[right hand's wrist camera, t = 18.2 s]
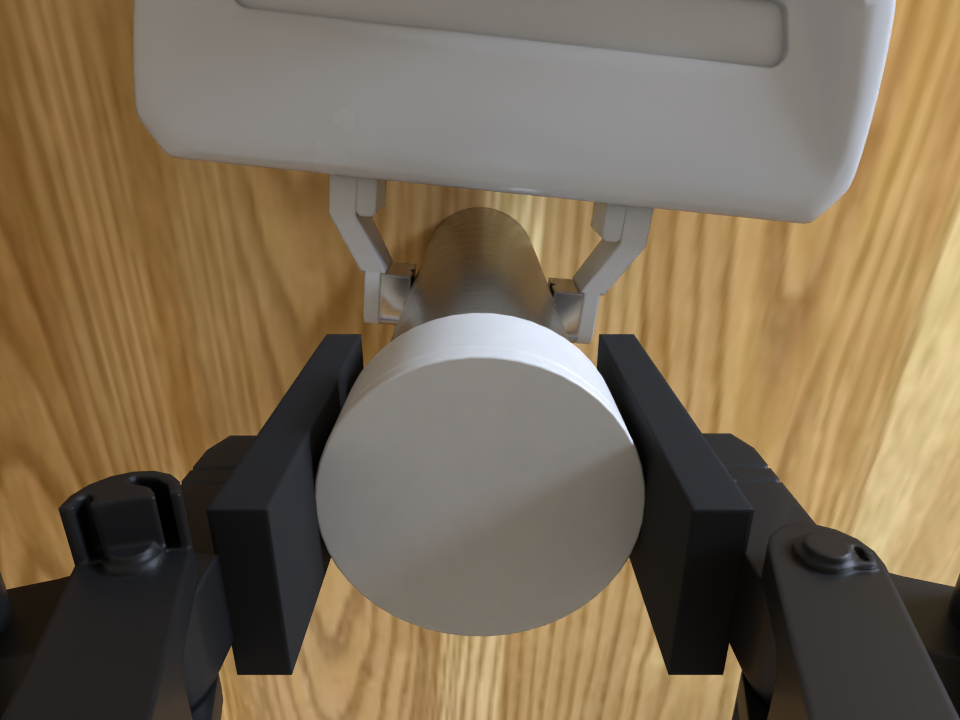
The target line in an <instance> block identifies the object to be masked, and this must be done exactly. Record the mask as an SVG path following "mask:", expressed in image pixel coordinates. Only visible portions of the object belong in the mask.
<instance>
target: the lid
mask: <svg viewBox="0 0 960 720" xmlns="http://www.w3.org/2000/svg"><path fill="white" fill-rule="evenodd" d="M315 500H316V509H317V518H318V525H319V529H320V533H321V536H322V538H323V541H324V543H325V545H326V548H327V550H328V552H329V554H330V555H331V557H332V559H333V561H334V562H335V564H336V566H337V567H338V568H339V570H340V571H341V572H342V574H343V575H344V576H345V577H346V579H347V580H348V581H349V582H350V583H351V584H352V585H353V586H354V587H355V588H356V589H357V590H358V591H359V592H360V593H361V594H362V595H364V596H365V597H366V598H367V599H369V600H370V601H371V602H373V603H374V604H375V605H377V606H378V607H380V608H382V609H383V610H385V611H387V612H388V613H390V614H392V615H393V616H395V617H398V618H400V619H402V620H404V621H406V622H409V623H411V624H414V625H417V626H420V627H423V628H426V629H429V630H434V631H438V632H443V633H447V634H455V635H464V636H495V635H507V634H512V633H517V632H523V631H527V630H531V629H534V628H537V627H540V626H544V625H546V624H549V623H551V622H554V621H556V620H558V619H561V618H563V617H565V616H567V615H568V614H570V613H572V612H574V611H575V610H577V609H579V608H580V607H582V606H583V605H585V604H586V603H587V602H589V601H590V600H592V599H593V598H594V597H596V596H597V595H598V594H599V593H600V592H601V591H602V590H603V589H604V588H605V587H606V586H607V585H609V583H610V582H611V581H612V580H613V579H614V577H615V576H616V575H617V574H618V573H619V572H620V570H621V569H622V567H623V566H624V564H625V562H626V561H627V559H628V558H629V556H630V554H631V552H632V550H633V548H634V546H635V543H636V541H637V539H638V536H639V532H640V529H641V526H642V521H643V512H644V504H645V480H644V474H643V469H642V464H641V461H640V458H639V455H638V452H637V450H636V447H635V444H634V442H633V440H632V438H631V436H630V434H629V432H628V429H627V427H626V425H625V423H624V421H623V419H622V416H621V414H620V412H619V410H618V408H617V406H616V403H615V401H614V399H613V397H612V395H611V393H610V391H609V389H608V387H607V385H606V383H605V381H604V379H603V377H602V376H601V374H600V373H599V372H598V370H597V369H596V367H595V366H594V365H593V363H592V362H591V361H590V360H589V359H588V358H587V357H586V356H585V355H584V354H583V353H582V352H581V351H580V350H579V349H578V348H577V347H575V346H574V345H573V344H572V343H570V342H569V341H568V340H566V339H565V338H564V337H562V336H560V335H558V334H557V333H555V332H553V331H552V330H550V329H548V328H546V327H543V326H541V325H538V324H536V323H534V322H531V321H528V320H524V319H521V318H517V317H513V316H508V315H501V314H494V313H468V314H459V315H452V316H447V317H443V318H439V319H435V320H432V321H429V322H427V323H424V324H422V325H419V326H416V327H414V328H413V329H411V330H409V331H407V332H405V333H403V334H401V335H400V336H398V337H397V338H395V339H394V340H393V341H391V342H390V343H388V344H387V345H386V346H384V347H383V348H382V349H381V350H380V351H379V352H378V353H377V354H376V355H375V356H374V357H373V358H372V359H371V360H370V361H369V363H368V364H367V365H366V366H365V368H364V369H363V370H362V372H361V373H360V375H359V376H358V378H357V380H356V381H355V383H354V385H353V387H352V389H351V391H350V393H349V395H348V397H347V399H346V402H345V404H344V406H343V408H342V410H341V412H340V414H339V417H338V419H337V421H336V423H335V425H334V427H333V429H332V432H331V434H330V436H329V438H328V440H327V442H326V445H325V448H324V450H323V453H322V455H321V458H320V460H319V465H318V470H317V474H316V479H315Z"/></svg>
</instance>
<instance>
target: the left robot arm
mask: <svg viewBox="0 0 960 720" xmlns="http://www.w3.org/2000/svg"><path fill="white" fill-rule="evenodd" d="M895 5H896V0H134V17H133V72H134V95H135V105H136V110H137V114H138V117H139V119H140V121H141V123H142V124H143V125H144V126H145V128H146V129H147V130H148V132H149V133H150V134H151V136H152V137H153V138H154V140H155V141H156V142H157V144H158V145H159V146H160V147H161V149H162V150H163V151H164V152H165V153H166V154H167V155H169V156H171V157H174V158H180V159H189V160H199V161H208V162H218V163H227V164H237V165H246V166H256V167H266V168H275V169H285V170H294V171H304V172H313V173H323V174H330V175H329V214H330V216H331V218H332V220H333V222H334V224H335V225H336V227H337V229H338V231H339V233H340V235H341V236H342V238H343V240H344V242H345V244H346V245H347V247H348V249H349V251H350V253H351V255H352V256H353V258H354V260H355V262H356V264H357V266H358V267H359V269H360V271H363V272H365V274H364V305H363V318H364V322H366V323H372V324H387V325H397V323H398V321H399V318H400V315H401V313H402V310H403V308H404V305H405V303H406V300H407V298H408V295H409V292H410V290H411V287H412V285H413V282H414V280H415V277H416V264H409V263H400V262H392V261H393V260H392V258H391V256H390V254H389V252H388V250H387V248H386V246H385V243H384V241H383V239H382V237H381V235H380V233H379V231H378V229H377V227H376V225H375V223H374V221H373V218H372V216H373V215H374V214H375V213H377V212H378V211H379V210H380V209H381V208H382V207H383V206H384V205H385V198H386V180H390V181H400V182H409V183H419V184H428V185H438V186H447V187H457V188H466V189H476V190H486V191H495V192H505V193H514V194H524V195H533V196H543V197H553V198H562V199H572V200H581V201H591V202H594V208H593V214H592V221H591V226H592V228H593V229H594V230H595V231H596V232H597V233H598V234H599V235H600V236H601V237H602V240H601V241H600V242H599V244H598V245H597V246H596V248H595V249H594V250H593V251H592V253H591V254H590V255H589V257H588V258H587V259H586V261H585V262H584V263H583V265H582V266H581V267H580V269H579V270H578V271H577V272H576V274H575V275H574V276H573V280H572V279H559V278H549V280H548V287H549V289H550V292H551V294H552V297H553V299H554V302H555V305H556V307H557V310H558V312H559V315H560V317H561V320H562V323H563V325H564V328H565V330H566V333H567V335H568V338H569V340H570V343H581V344H589V343H590V342H591V340H592V337H593V332H594V326H595V320H596V315H597V309H598V304H599V298H600V295H605V293H606V292H607V291H608V290H609V289H610V288H611V286H612V285H613V284H614V283H615V282H616V281H617V279H618V278H619V277H620V276H621V275H622V274H623V272H624V271H625V270H626V269H627V268H628V267H629V265H630V264H631V263H632V262H633V261H634V260H635V258H636V257H637V256H638V255H639V254H640V253H641V251H642V250H643V249H644V248H645V247H646V243H647V238H648V233H649V228H650V223H651V218H652V214H653V209H654V208H658V209H667V210H677V211H686V212H696V213H706V214H715V215H725V216H734V217H744V218H753V219H763V220H772V221H782V222H792V223H802V224H805V223H810V222H812V221H814V220H815V219H817V218H818V217H819V216H820V215H822V214H823V213H824V212H825V211H826V210H827V209H829V208H830V207H831V206H832V205H833V204H834V203H835V202H836V201H837V200H838V199H839V198H840V197H842V196H843V195H844V194H845V193H846V191H847V190H848V188H849V187H850V185H851V183H852V180H853V178H854V176H855V173H856V170H857V168H858V165H859V162H860V159H861V156H862V152H863V149H864V145H865V142H866V139H867V135H868V131H869V128H870V124H871V121H872V117H873V113H874V109H875V105H876V101H877V97H878V93H879V89H880V84H881V80H882V75H883V71H884V67H885V62H886V57H887V52H888V47H889V42H890V37H891V31H892V26H893V20H894V14H895Z"/></svg>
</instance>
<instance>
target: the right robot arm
mask: <svg viewBox="0 0 960 720" xmlns="http://www.w3.org/2000/svg"><path fill="white" fill-rule="evenodd" d="M363 369H364V368H363V354H362V341H361V334H327V335H326V336H325V337H324V339H323V340H322V342H321V343H320V345H319V346H318V348H317V349H316V351H315V352H314V353H313V355H312V356H311V358H310V359H309V361H308V362H307V364H306V365H305V367H304V368H303V369H302V371H301V372H300V374H299V375H298V377H297V378H296V380H295V381H294V383H293V384H292V385H291V387H290V388H289V390H288V391H287V393H286V394H285V396H284V397H283V399H282V400H281V401H280V403H279V404H278V406H277V407H276V409H275V410H274V412H273V413H272V415H271V416H270V417H269V419H268V420H267V422H266V423H265V425H264V426H263V428H262V429H261V431H260V432H259V433H258V435H257V436H229V437H227V438H226V439H224V440H222V441H221V442H219V443H218V444H216V445H214V446H213V447H211V448H210V449H208V450H207V451H206V452H205V453H204V454H203V456H202V457H201V458H200V459H199V461H198V462H197V463H196V464H195V465H194V467H193V471H190V472H189V473H188V474H187V475H186V477H185V478H184V479H183V480H182V485H180V481H178V480H177V479H176V478H174V477H173V476H172V475H170V474H166V473H162V472H157V471H139V472H130V473H125V474H120V475H116V476H111V477H108V478H106V479H103V480H100V481H98V482H95V483H93V484H90V485H88V486H86V487H85V488H83V489H81V490H80V491H78V492H76V493H75V494H73V495H71V496H70V497H69V498H68V499H67V500H66V501H65V502H64V503H63V504H62V505H61V507H60V508H59V512H60V515H61V519H62V522H63V526H64V529H65V532H66V536H67V539H68V543H69V546H70V550H71V553H72V556H73V560H74V563H75V567H74V569H73V571H72V573H71V575H70V576H68V577H64V578H61V579H56V580H51V581H46V582H42V583H37V584H32V585H27V586H22V587H17V588H12V589H7V590H6V587H5V584H4V581H3V578H2V576H1V573H0V720H221V713H222V705H223V695H222V688H221V682H220V677H219V671H220V669H221V666H222V664H223V662H224V660H225V658H226V656H227V654H228V651H229V649H230V647H231V645H232V649H233V654H234V660H235V665H236V670H237V675H292V673H293V670H294V667H295V664H296V661H297V658H298V655H299V652H300V649H301V646H302V643H303V640H304V637H305V634H306V631H307V628H308V625H309V622H310V619H311V616H312V613H313V610H314V607H315V604H316V601H317V598H318V595H319V592H320V589H321V586H322V583H323V580H324V577H325V574H326V571H327V568H328V565H329V562H330V559H331V555H330V554H329V552H328V550H327V548H326V545H325V543H324V541H323V538H322V536H321V533H320V529H319V525H318V518H317V509H316V500H315V479H316V474H317V470H318V465H319V460H320V458H321V455H322V453H323V450H324V448H325V445H326V442H327V440H328V438H329V436H330V434H331V432H332V429H333V427H334V425H335V423H336V421H337V419H338V417H339V414H340V412H341V410H342V408H343V406H344V404H345V402H346V399H347V397H348V395H349V393H350V391H351V389H352V387H353V385H354V383H355V381H356V380H357V378H358V376H359V375H360V373H361V372H362V370H363ZM597 370H598V372H599V373H600V374H601V376H602V377H603V379H604V381H605V383H606V385H607V387H608V389H609V391H610V393H611V395H612V397H613V399H614V401H615V403H616V406H617V408H618V410H619V412H620V414H621V416H622V419H623V421H624V423H625V425H626V427H627V429H628V432H629V434H630V436H631V438H632V440H633V442H634V444H635V447H636V450H637V452H638V455H639V458H640V461H641V464H642V469H643V474H644V480H645V504H644V512H643V521H642V526H641V529H640V532H639V536H638V539H637V541H636V543H635V546H634V548H633V550H632V552H631V554H630V556H629V558H630V561H631V564H632V567H633V570H634V573H635V576H636V579H637V582H638V585H639V588H640V591H641V594H642V597H643V600H644V603H645V606H646V609H647V612H648V615H649V618H650V621H651V624H652V627H653V630H654V633H655V636H656V639H657V642H658V644H659V647H660V650H661V653H662V656H663V659H664V662H665V665H666V668H667V671H668V674H669V675H723V672H724V667H725V662H726V657H727V651H728V646H729V643H730V645H731V647H732V649H733V651H734V654H735V656H736V658H737V660H738V662H739V664H740V666H741V669H742V672H741V677H740V682H739V687H738V692H737V697H736V702H735V707H734V712H733V716H732V720H960V574H959V577H958V580H957V583H956V586H955V587H952V586H947V585H943V584H938V583H933V582H928V581H923V580H918V579H913V578H908V577H903V576H899V575H896V574H892V573H889V572H888V570H887V568H886V566H885V564H884V563H883V562H882V561H881V559H880V558H879V557H878V555H877V554H876V553H875V552H874V551H873V550H872V549H870V548H869V547H867V546H866V545H865V544H863V543H862V542H860V541H859V540H858V539H856V538H853V537H851V536H849V535H847V534H844V533H842V532H840V531H838V530H835V529H831V528H827V527H823V526H819V525H816V524H815V523H814V521H813V520H812V519H811V518H810V516H809V515H808V514H807V513H806V511H805V510H804V509H803V508H802V507H801V505H800V504H799V503H798V502H797V500H796V499H795V498H794V497H793V495H792V494H791V493H790V492H789V491H788V489H787V488H786V487H785V486H784V484H783V483H779V478H778V477H777V476H776V475H775V473H774V472H773V471H772V470H771V468H768V465H767V463H766V462H765V461H764V460H763V459H762V457H761V456H760V455H759V454H758V452H757V451H756V450H755V449H754V448H753V447H751V446H750V445H748V444H747V443H745V442H743V441H742V440H740V439H739V438H737V437H735V436H734V435H732V434H702V433H701V431H700V430H699V428H698V427H697V426H696V424H695V423H694V421H693V420H692V418H691V417H690V415H689V414H688V412H687V411H686V410H685V408H684V407H683V405H682V404H681V402H680V401H679V399H678V398H677V396H676V395H675V394H674V392H673V391H672V389H671V388H670V386H669V385H668V383H667V382H666V380H665V379H664V378H663V376H662V375H661V373H660V372H659V370H658V369H657V367H656V366H655V364H654V363H653V362H652V360H651V359H650V357H649V356H648V354H647V353H646V351H645V350H644V349H643V347H642V346H641V344H640V343H639V341H638V340H637V338H636V337H635V335H634V334H599V346H598V360H597Z"/></svg>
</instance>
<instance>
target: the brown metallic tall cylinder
mask: <svg viewBox="0 0 960 720" xmlns="http://www.w3.org/2000/svg"><path fill="white" fill-rule="evenodd" d="M468 313H494V314H501V315H508V316H513V317H517V318H521V319H524V320H528V321H531V322H534V323H536V324H538V325H541V326H543V327H546V328H548V329H550V330H552V331H553V332H555V333H557V334H558V335H560V336H562V337H564V338H565V339H566V340H568V341H569V342H570V340H569V338H568V335H567V333H566V330H565V328H564V325H563V323H562V320H561V317H560V315H559V312H558V310H557V307H556V305H555V302H554V299H553V297H552V294H551V292H550V289H549V287H548V284H547V281H546V279H545V276H544V274H543V271H542V269H541V266H540V264H539V261H538V258H537V256H536V253H535V251H534V248H533V246H532V243H531V241H530V238H529V236H528V235H527V233H526V231H525V230H524V229H523V227H522V226H521V225H520V224H519V223H518V222H517V221H516V220H515V219H513V218H512V217H511V216H509V215H507V214H506V213H504V212H501V211H499V210H496V209H492V208H485V207H474V208H468V209H465V210H462V211H459V212H457V213H455V214H453V215H451V216H450V217H448V218H447V219H446V220H445V221H443V222H442V223H441V224H440V225H439V227H438V228H437V229H436V230H435V232H434V233H433V235H432V237H431V239H430V241H429V244H428V247H427V249H426V252H425V254H424V257H423V259H422V262H421V264H420V267H419V270H418V272H417V275H416V277H415V280H414V282H413V285H412V287H411V290H410V292H409V295H408V298H407V300H406V303H405V305H404V308H403V310H402V313H401V315H400V318H399V321H398V323H397V326H396V328H395V331H394V333H393V336H392V338H391V341H393V340H394V339H395V338H397V337H398V336H400V335H401V334H403V333H405V332H407V331H409V330H411V329H413V328H414V327H416V326H419V325H422V324H424V323H427V322H429V321H432V320H435V319H439V318H443V317H447V316H452V315H459V314H468ZM391 341H390V342H391Z"/></svg>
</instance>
